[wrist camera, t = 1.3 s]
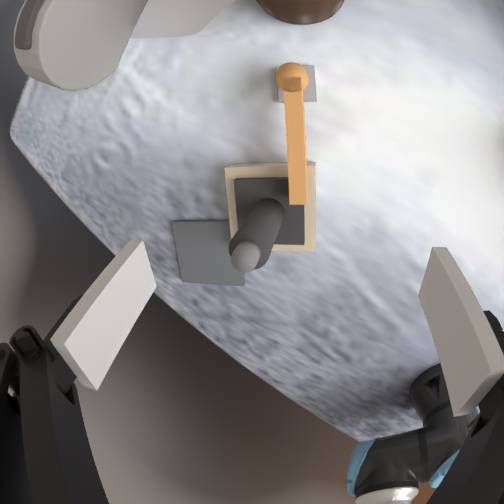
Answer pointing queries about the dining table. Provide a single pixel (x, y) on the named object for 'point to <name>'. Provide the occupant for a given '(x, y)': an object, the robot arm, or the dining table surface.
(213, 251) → the mat
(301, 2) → the plant pot
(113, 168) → the dining table surface
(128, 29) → the alarm clock
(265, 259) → the plug
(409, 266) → the dining table surface
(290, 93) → the orange lever handle
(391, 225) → the dining table surface
